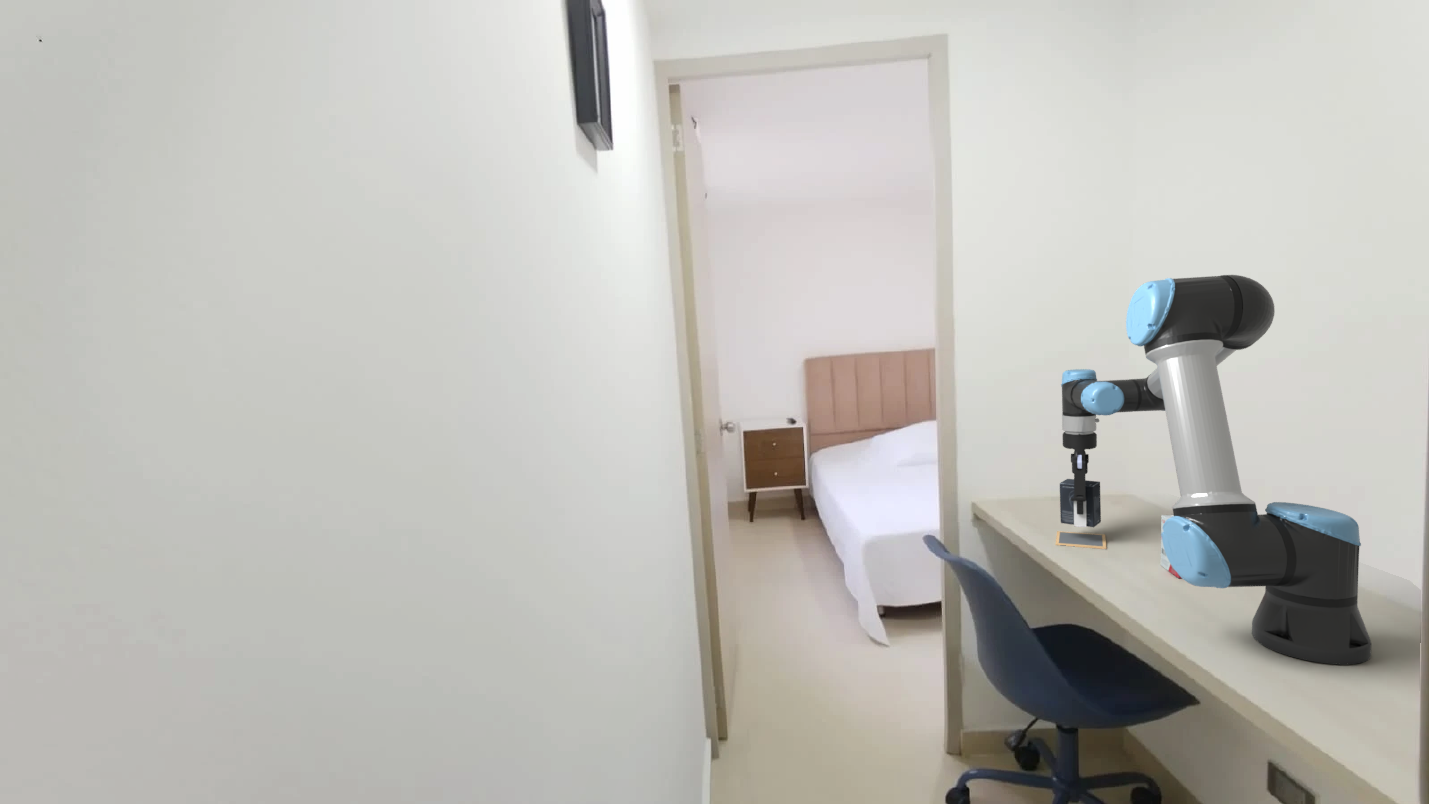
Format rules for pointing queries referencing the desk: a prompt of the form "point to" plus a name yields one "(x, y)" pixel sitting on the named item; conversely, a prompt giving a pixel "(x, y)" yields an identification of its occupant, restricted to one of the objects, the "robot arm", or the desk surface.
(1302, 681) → the desk surface
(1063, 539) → the mat
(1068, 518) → the box
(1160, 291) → the robot arm
